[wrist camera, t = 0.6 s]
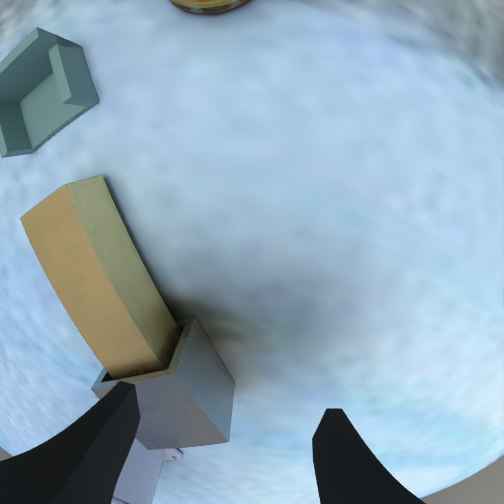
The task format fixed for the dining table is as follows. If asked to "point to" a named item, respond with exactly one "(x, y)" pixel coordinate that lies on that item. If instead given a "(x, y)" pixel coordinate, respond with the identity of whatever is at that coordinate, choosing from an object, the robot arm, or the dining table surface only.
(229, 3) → the sauce bottle
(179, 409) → the sleeve
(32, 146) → the socket
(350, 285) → the dining table surface
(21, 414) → the dining table surface
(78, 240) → the block
